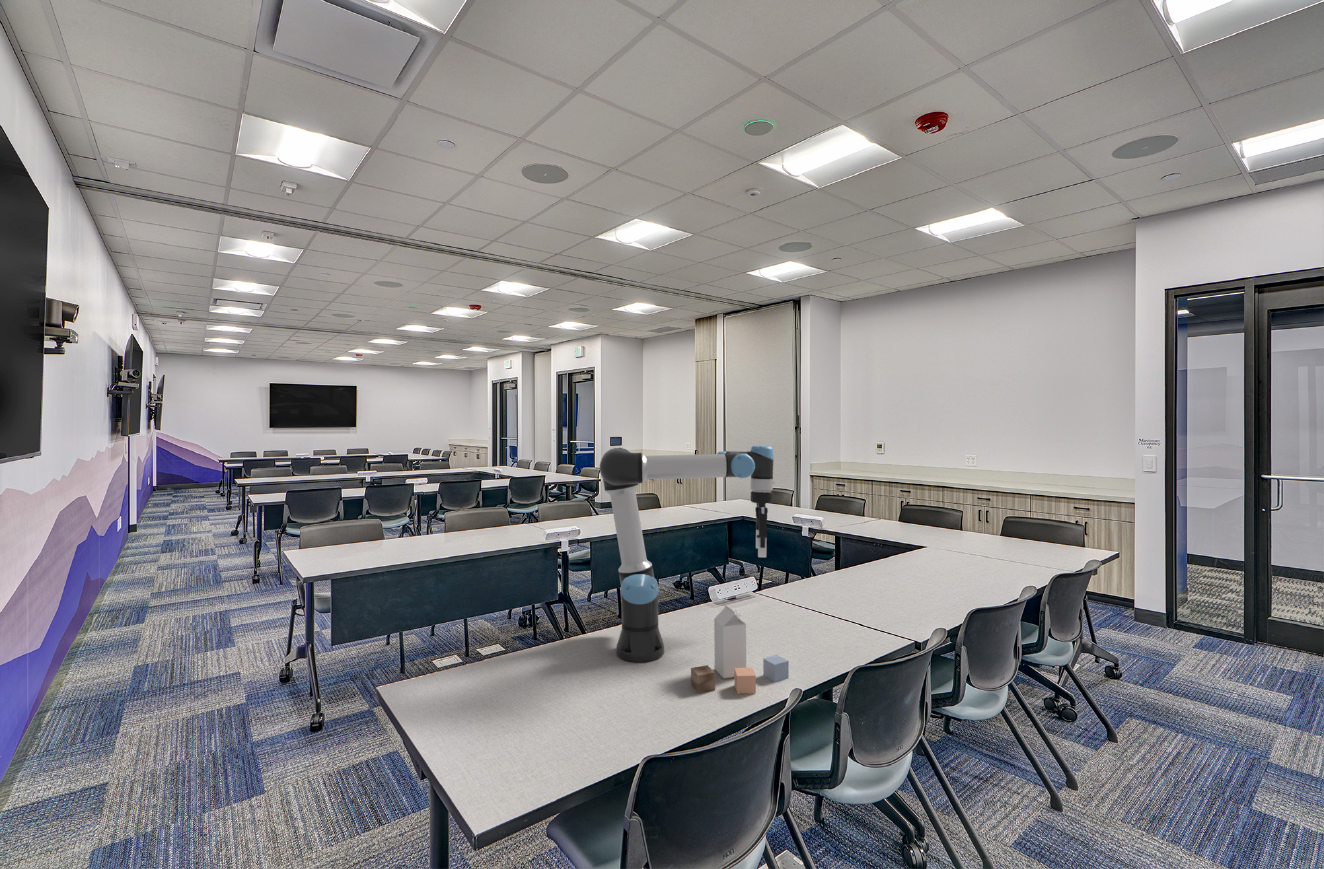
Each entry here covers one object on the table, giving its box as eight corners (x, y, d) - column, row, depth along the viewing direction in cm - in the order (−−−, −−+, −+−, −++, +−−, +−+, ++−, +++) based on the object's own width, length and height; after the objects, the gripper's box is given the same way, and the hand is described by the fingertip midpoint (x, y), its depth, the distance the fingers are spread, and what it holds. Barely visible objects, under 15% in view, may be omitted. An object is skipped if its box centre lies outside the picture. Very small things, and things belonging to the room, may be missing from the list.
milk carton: (723, 679, 163) (722, 612, 163) (714, 669, 170) (713, 605, 170) (746, 676, 165) (746, 610, 165) (736, 666, 172) (736, 602, 171)
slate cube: (774, 682, 161) (774, 664, 161) (763, 675, 165) (763, 658, 165) (788, 678, 163) (788, 661, 163) (776, 672, 168) (776, 654, 168)
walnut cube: (698, 693, 155) (697, 675, 155) (691, 685, 160) (690, 668, 159) (715, 690, 156) (714, 672, 156) (707, 683, 161) (707, 665, 161)
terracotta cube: (737, 694, 154) (737, 676, 154) (734, 685, 159) (734, 668, 159) (755, 694, 154) (755, 675, 154) (752, 685, 159) (752, 667, 159)
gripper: (776, 495, 185) (775, 561, 185) (770, 487, 209) (769, 545, 210) (752, 495, 185) (751, 560, 186) (749, 486, 210) (748, 544, 211)
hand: (760, 552), depth 198 cm, fingers open, 13 cm apart
